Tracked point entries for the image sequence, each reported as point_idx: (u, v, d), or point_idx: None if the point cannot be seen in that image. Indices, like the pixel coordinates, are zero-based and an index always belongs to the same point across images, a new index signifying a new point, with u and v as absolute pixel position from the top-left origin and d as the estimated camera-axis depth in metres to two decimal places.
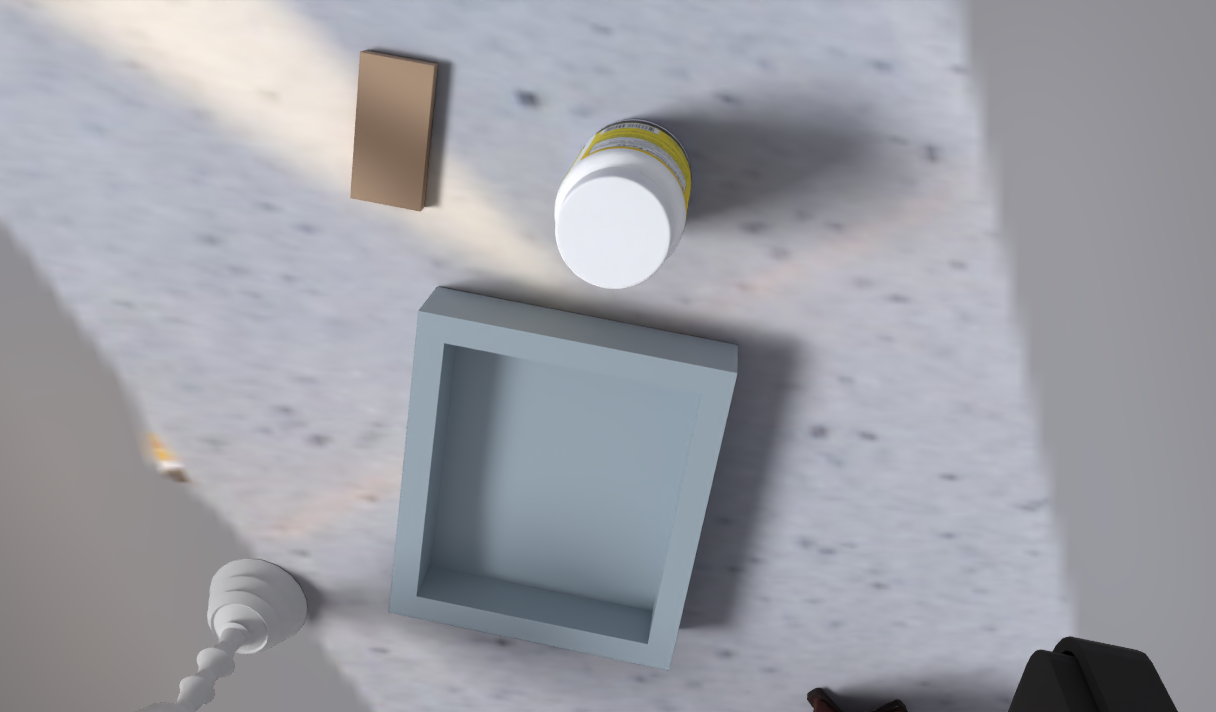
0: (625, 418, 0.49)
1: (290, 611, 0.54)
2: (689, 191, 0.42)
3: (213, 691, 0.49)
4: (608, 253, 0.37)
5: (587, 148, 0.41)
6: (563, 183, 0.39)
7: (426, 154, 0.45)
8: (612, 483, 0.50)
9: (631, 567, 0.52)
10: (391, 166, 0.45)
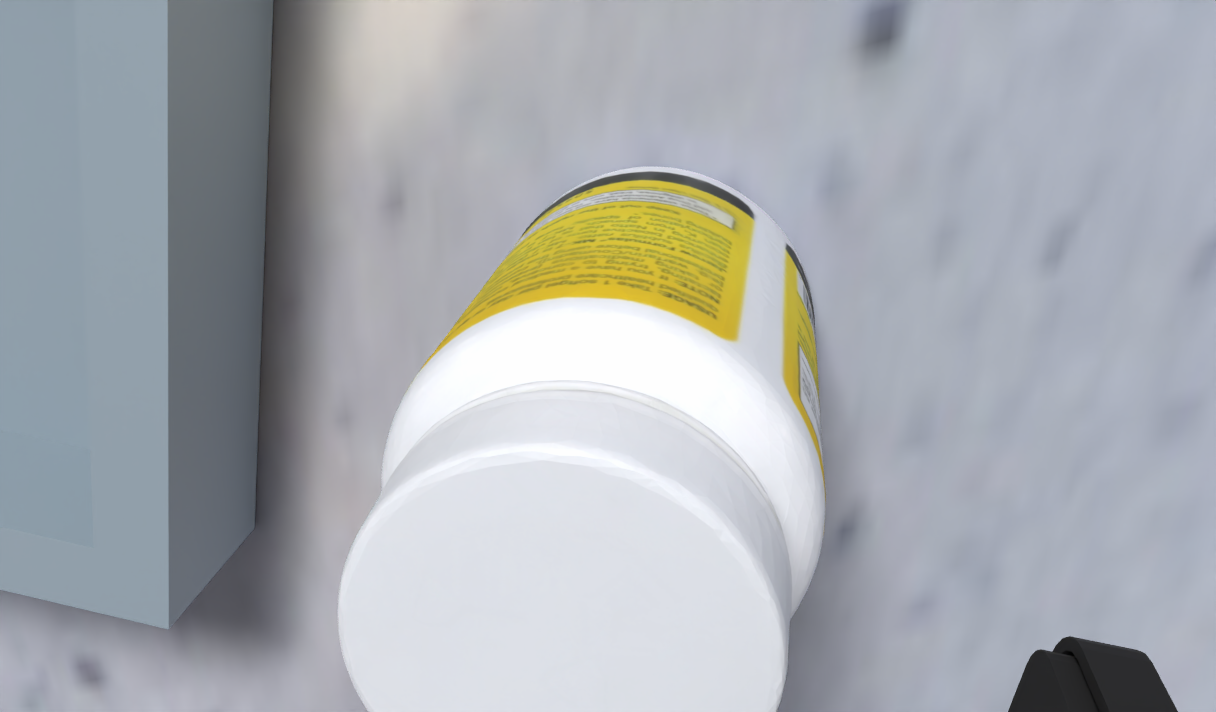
0: (0, 276, 0.18)
1: None
2: None
3: None
4: (476, 631, 0.09)
5: (783, 309, 0.13)
6: (711, 347, 0.11)
7: None
8: None
9: None
10: None
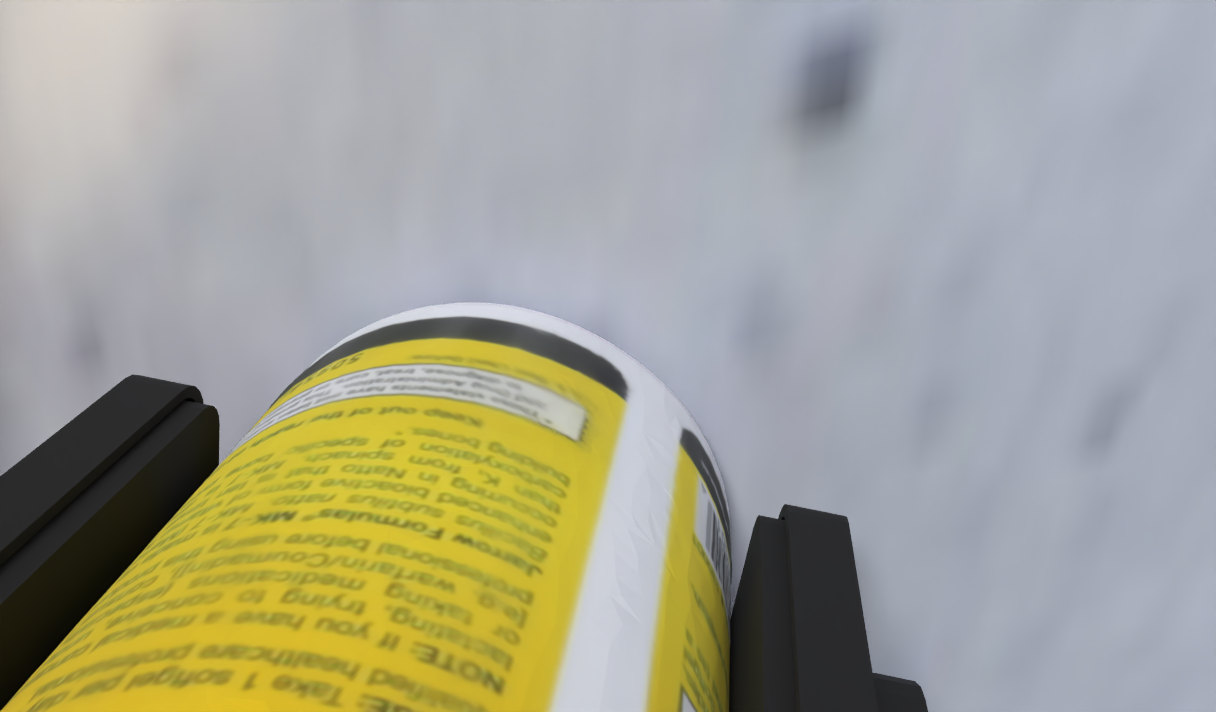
0: None
1: None
2: None
3: None
4: None
5: (655, 617, 0.07)
6: None
7: None
8: None
9: None
10: None
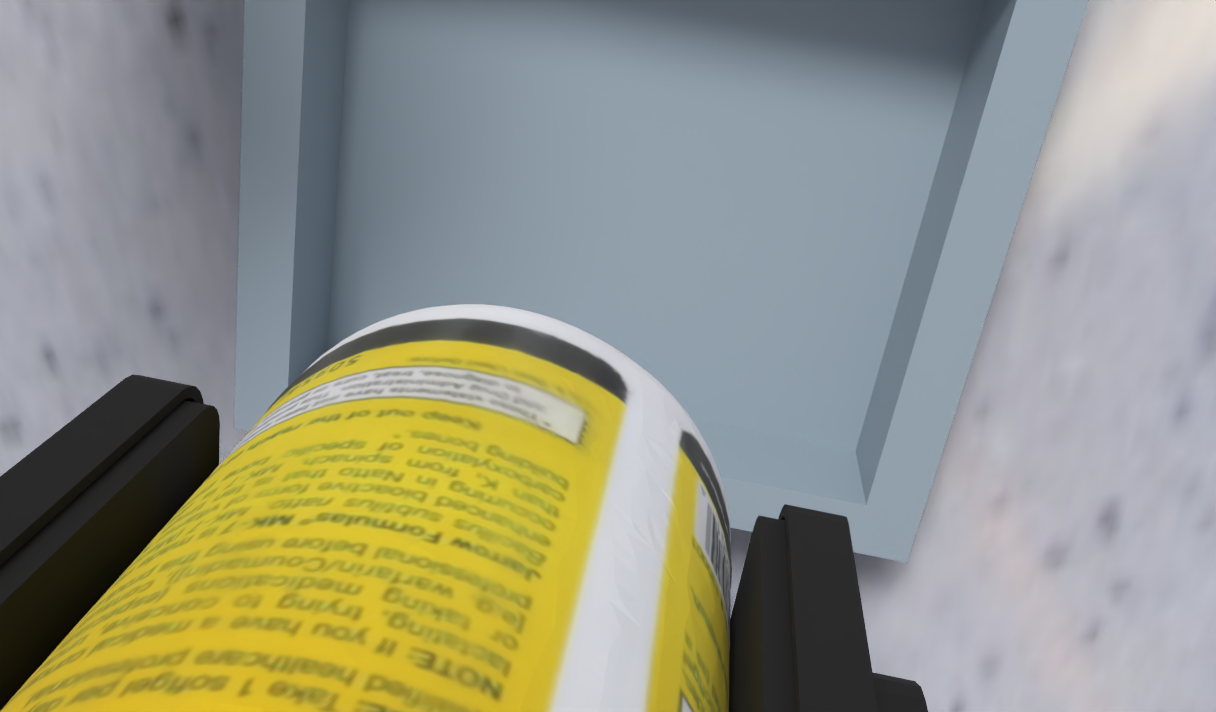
0: (753, 312, 0.25)
1: None
2: None
3: None
4: None
5: (654, 621, 0.07)
6: None
7: None
8: (609, 282, 0.25)
9: None
10: None
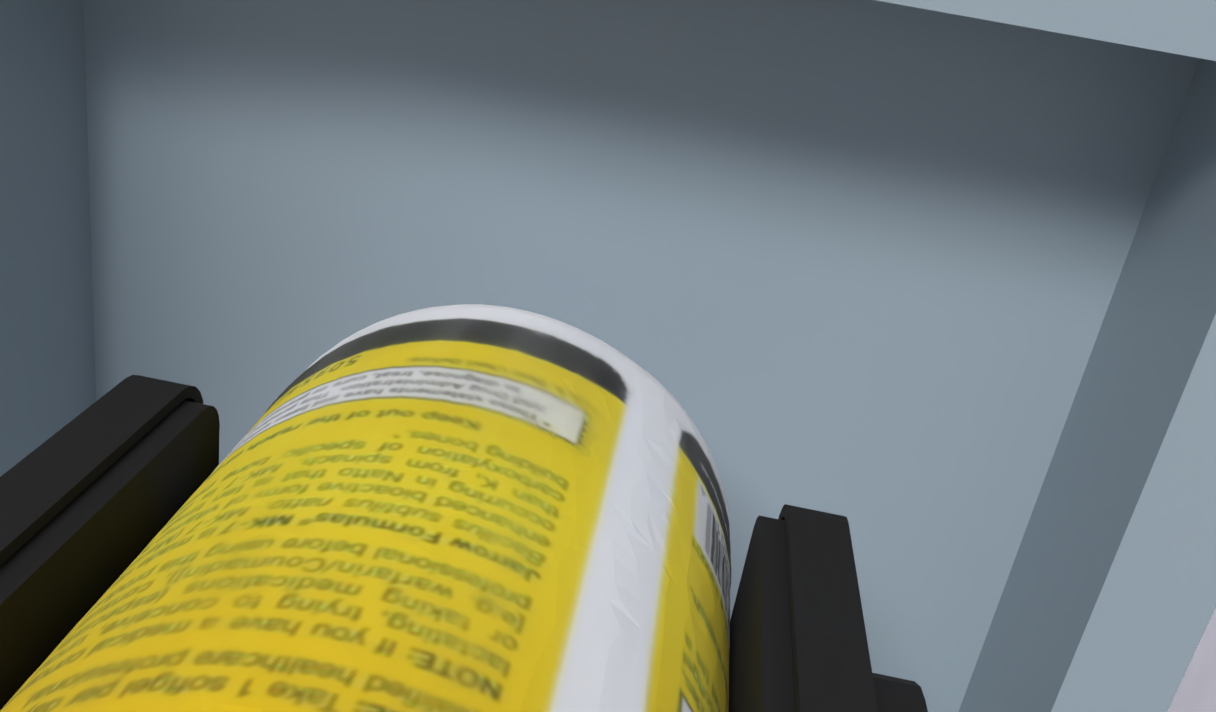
0: None
1: None
2: None
3: None
4: None
5: (654, 621, 0.07)
6: None
7: None
8: None
9: None
10: None
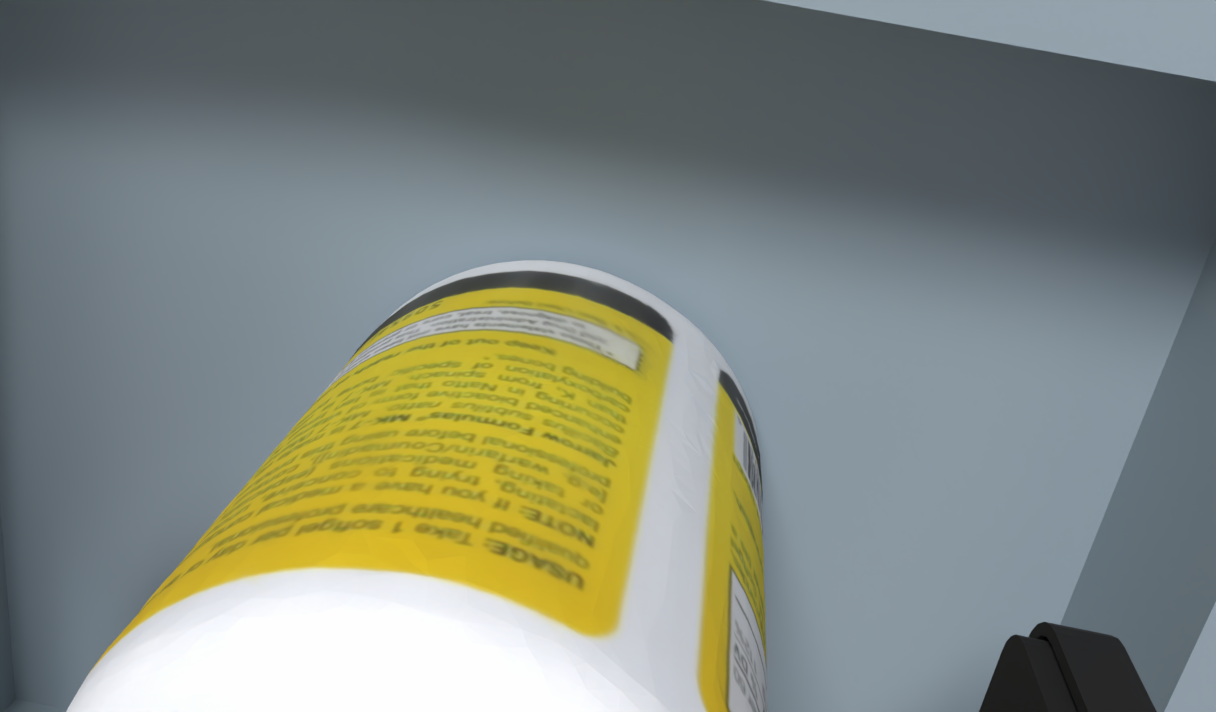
0: (768, 675, 0.13)
1: None
2: None
3: None
4: None
5: (707, 509, 0.09)
6: (565, 664, 0.06)
7: None
8: None
9: None
10: None
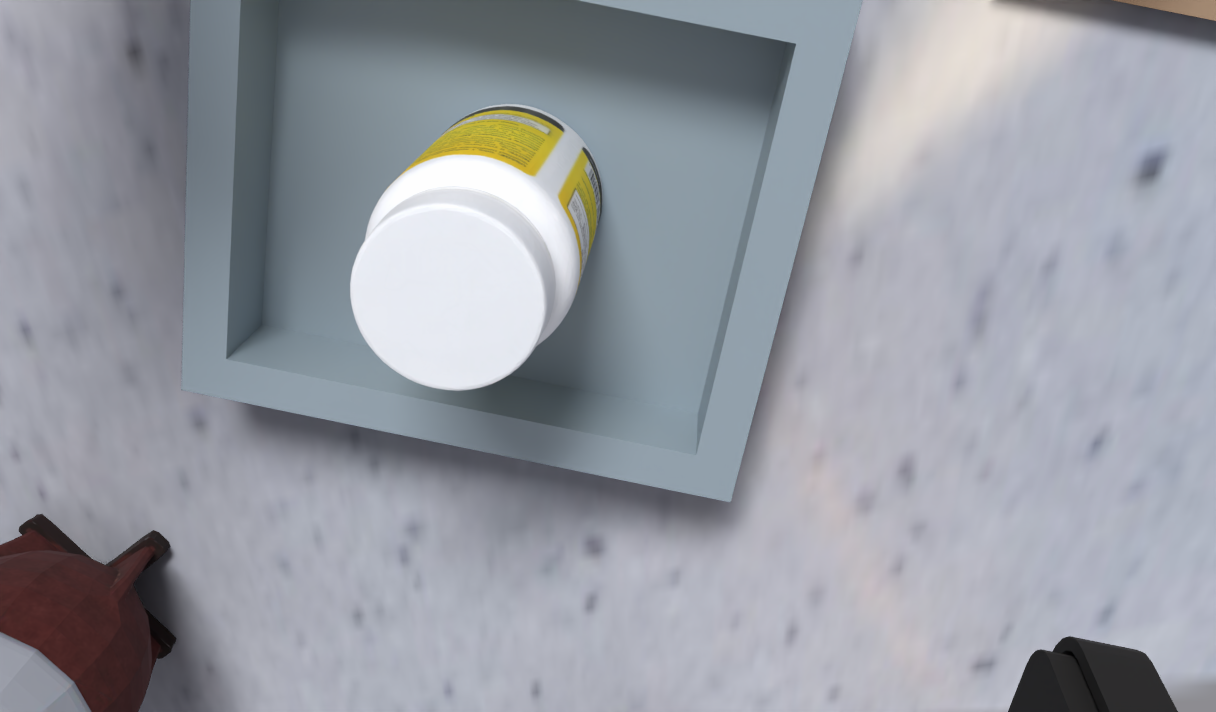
0: (611, 298, 0.30)
1: None
2: None
3: None
4: (412, 292, 0.22)
5: (569, 172, 0.25)
6: (520, 177, 0.23)
7: None
8: None
9: (339, 295, 0.31)
10: None
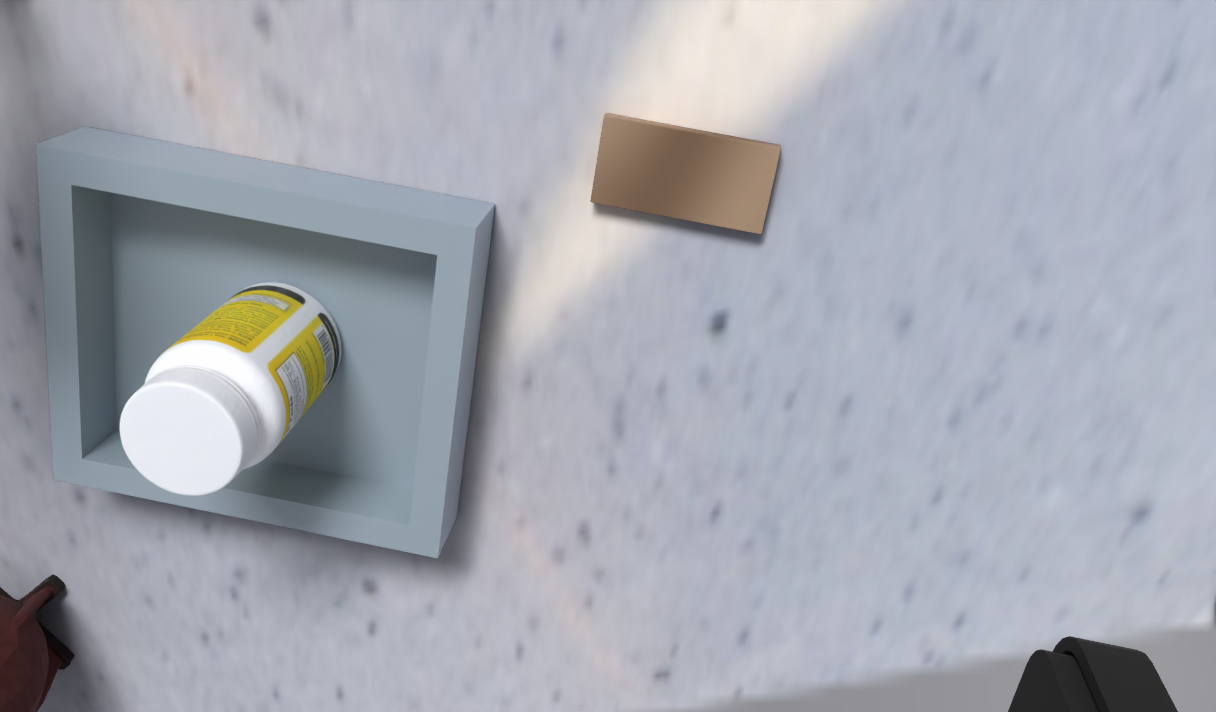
0: (357, 412, 0.43)
1: None
2: None
3: None
4: (158, 435, 0.34)
5: (291, 340, 0.38)
6: (237, 355, 0.35)
7: (658, 213, 0.38)
8: None
9: None
10: (644, 172, 0.38)
